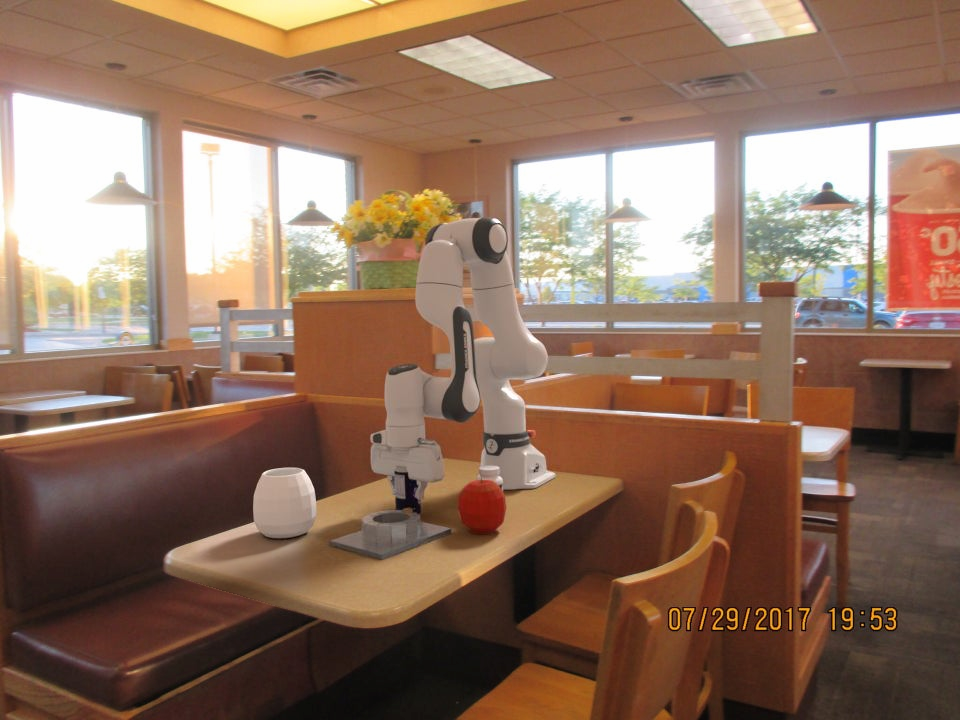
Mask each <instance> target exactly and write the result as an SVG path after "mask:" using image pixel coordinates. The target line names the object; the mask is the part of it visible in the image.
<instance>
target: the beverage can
mask: <svg viewBox="0 0 960 720" xmlns="http://www.w3.org/2000/svg"><path fill="white" fill-rule="evenodd" d="M406 468H407V467H399V466H396V469H395V471H394V474H395V495H394V496H395V499H394V500H395V510H403V509H406V508H412V512H416V513H418V514H419V515H421V512H422V507H421V506H422V505H421V504H422V503H421V501H422V499H421V500H418V499H415V498H414V496H415V495H414V491H417V489H418V486H419V485H417V480H413V479H409V476H408V471H407V469H406Z"/></svg>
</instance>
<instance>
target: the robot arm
mask: <svg viewBox="0 0 960 720" xmlns="http://www.w3.org/2000/svg"><path fill="white" fill-rule="evenodd" d="M508 240H509V239H508V233H507V230H506V227H504V224H503V223H502V222H501V221H500V220H499V219H497V218H493V217H487V216H485V217H479V218H475V217H474V218H473V217H472V218H471V217H469V218H462V219H459V220H455V221H450V222H441V223H439V224H436V225H435V226H433V227H432V228H430V229H429V231H428V233H427V235H426V237H425V240H424V241H425V242H424V247H423V249H422V251H421V252H422V253H421V254H420V255H421V256H420V259H419V264H418V267H417V268H418V269H417V274H416V283H415V284H416V285H415V294H414V295H415V296H414V299H415V307H416V311H417V312H418V314H419V315H420V316H421V318H423V319H424V320H425V321H426V322H427V323H429V324H431V325H433V326H435V327H437V328H438V329H440V330H442V331H443V333H445V334H446V336H447V339H448V341H449V349H450V350H449V351H450V354H449V355H450V368H451V374H450V376H448V377H445V376H441V377H440V376H433V375H432V374H429V373H427V372H425V371H423V370H422V369H421V368H420V366H419V365H418V364H416V363H405V364H399V365H396V366H393V367H391V368H390V369H388V370H387V372H386V374H385V375H386V376H385V380H384V381H385V382H384V408H385V410H386V419H385V429H383V430H379V431H377V432H374V433H371V434H370V438H369V439H370V442H371V447H370V466H371V470H372V472H373V473H374V474H380V475H385V476H387V482H388V483H389V486H390V487H391V495H393V496H395V474H394V471H395V469H396V466H399V467H407V468H406V469H407V471H408V476H409V479H413V480H417V485H419V486H418V489H417V491H414V495H415V496H414V498H415V499H418V500H421V501H422V500H423V499H424V498H425V491H426V488H427V486H428V484H429V483H432V484H435V483H438V482H441V481H443V479H444V478H445V467H444V459H443V454H442V448H441V446H440V445H439V443H438V442H437V441H436V440H435V439H426V422H425V417H426V418H433V419H439V420H448V421H452V422H457V423H465V422H468V421H469V420H470V419H472V417H474V415H475V414H476V413H477V412H478V410H479V408H480V405H481V404H482V412H483V429H484V430H483V432H482V438H481V439H482V446H483V449H482V450H481V456H480V467H482V466H498V467H499V471H500V473H499V474H498V476H500V477H501V478H502V480H503V490H519V489H536V488H538V487H540V486H542V485H544V484H546V483H547V482H549V481H551V480H553V479H555V478H556V477H557V476H556V473H555V472H553V471H550V470H548V469H547V461H546V460H547V459H546V456H545V455H544V454H543V453H542V452H541V451H539V450H538V449H537V448H536V447H534V445H532V443H531V439H530V438H533V439H534V438H535V437H536V434H537V433H536V432H537V431H535V429H534V430H533V429H531V430H530V429H528V430H527V426H526V425H527V424H526V421H527V420H526V403H525V401H524V399H523V398H522V397H521V395H520V394H518V393H516V392H515V391H514V388H512V386H511V383H510V380H517V381H519V380H520V381H524V380H530V379H535V378H538V377H539V378H540V377H541V376H542V375H543V374H544V372H545V370H546V368H547V367H548V363H549V357H548V356H549V355H548V351H547V349H546V346H545V345H544V343H542V341H540V340H538V339H537V338H536V337H535V336H534V335H533V334H532V333H531V332H530V329H528V327H527V326H526V324H525V323H524V321H523V318H522V316H521V314H520V309H519V305H518V299H517V294H516V288H515V280H514V273H513V270H512V265H511V262H510V257H509V255H508V252H507V248H508V242H509V241H508ZM465 266H468V267H469V274H470V286H471V292H472V299H473V307H474V313H475V316H476V319H477V320H478V322H480V323H481V324H482V325H484V326H486V328H487V329H488V330H489V331H490V332H491V334H492V336H493V337H492V336H491V337H487V336H486V337H485V336H484V337H478V338H475V336H474V334H475V333H474V325H473V319H472V315H471V313H470V312H469V311H468V310H467V309H466V307H465V303H464V298H463V289H464V288H463V287H464V286H463V285H464V267H465ZM481 402H482V403H481ZM479 476H480V474H478V476H477V478H478V477H479Z"/></svg>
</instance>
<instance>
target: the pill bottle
mask: <svg viewBox="0 0 960 720" xmlns="http://www.w3.org/2000/svg"><path fill="white" fill-rule="evenodd" d="M499 473H500V471H499V467H498V466H482V467H481V466H479V467H478V476H479V475H480V476H479V477H478V476H477V478H476V479H475V481H477V480H481V478H482V480H491V481H493V482H495V483H496V484H498V485H499V486H500V488H501V489H502V491H503V492H504V489H503V480H502V478H501V477H500V476H498V474H499Z"/></svg>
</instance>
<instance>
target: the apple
mask: <svg viewBox="0 0 960 720" xmlns="http://www.w3.org/2000/svg"><path fill="white" fill-rule="evenodd" d="M457 497H458V500H457V509H458V513H459V517H460V521H461V523H462V525H463V526H464V527H465V528H466V529H468V530H469V531H470V532H471V533H473V534H478V535H479V534H480V535H485V534H486V535H487V534H493V533H494V532H496V531H497V530H498V528H500V526H502V525H503V523H504V522H505V515H506V511H507V502H506V494H505V493H504V490H503V491H502V489H501V488H500V486H499V485H498V484H496V483H495V482H493V481H491V480H482V478H481V480H477V481H476V480H471V481H470V482H469V483H467V484H466V485H464V487H463V488H462V489H461V492H459V494H458V496H457Z"/></svg>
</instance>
